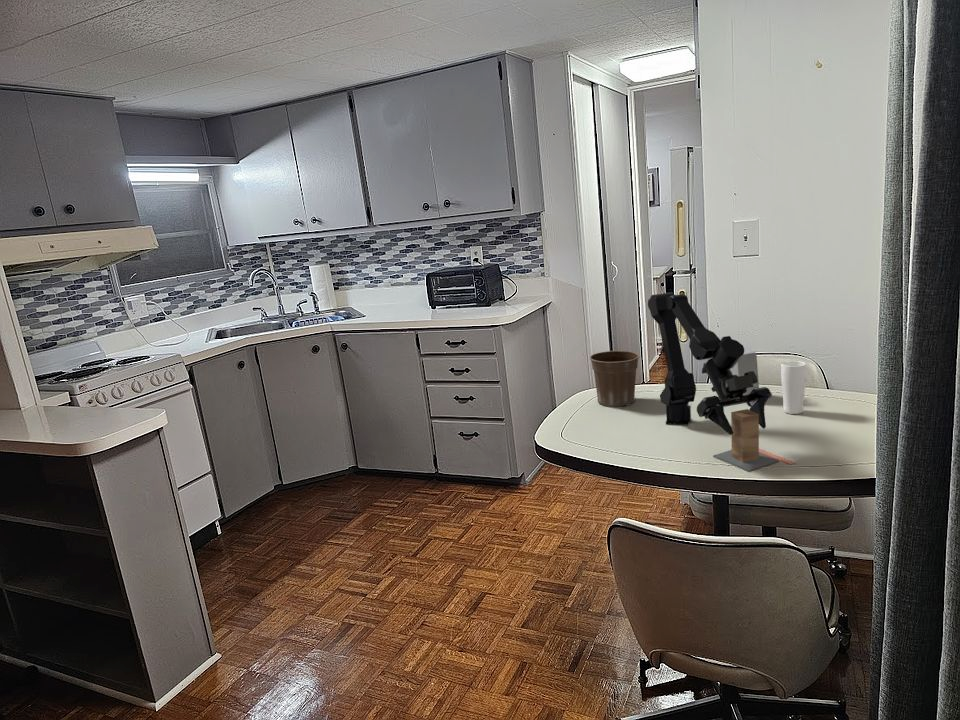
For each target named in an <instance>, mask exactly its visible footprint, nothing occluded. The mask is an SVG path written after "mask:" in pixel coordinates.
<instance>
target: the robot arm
mask: <svg viewBox="0 0 960 720" xmlns="http://www.w3.org/2000/svg"><path fill="white" fill-rule="evenodd" d="M647 308H648V310H649V312H650V315H651V318H652V319H654V321H655V322H656V323H657V324H658V326H659V328H658V329H659V333H660V338H661V343H662V347H663V353H664V359H665V362H666V367H667V373H666V376H665V378H664V382H663V383H664V388H663V390H662V392H660V395H659V398H660V402H661V403H662V404H664V405H665V411H666V420H665V424H666V425H681V426H688V425H689V424H690V422H691V419H692V408H691V407H692V406H691V405H690V403H691V402H692V403H693V402H694V401H695V398H696V394H697V393H696V392H697V386H696V382H695V378H694V376H695V375H694V374H693V373H692V372H689V371H688V370H687V369H686V368H685V363H684V357H683V352H682V348H681V342H680V337H679V333H678V327H677V323H676V320H677V321H678V322H679V324H680V326H681V327H682V329H683V330H684V332H685V334H686V335H687V337H688V339H689V343H688V344H689V345H688V347H689V349H690V352H691V355H692V356H693V357H694V359H695V360H696V361H705V360H707V361H706V362H704V363H703V366H702V369H701V374H706V375H707V376H708V378H709V381H710V383H711V385H712V387H711V389H710V390H711V391H712V392H713V393H714V392H715V393H716V395H711V396H706V397H703V398H702V399H701V401H700V402H699V403H698V405H697V406H696V413H697V414H698V417H700V418H703V417H704V419H705V420H707V419H708V420H710V421H711V422H713V423H714V424H716V425H717V426H718V427H720V428H721V429H722V430H723V431H725V432H726V433H727V434H728V435H730V436H732V434H733V430H732V428H731V423H730V421H729V419H728V418H727V416H726V414H725V409H724V408H726V407H730V406H736V405H741V404H742V405H743V404H746V405H747V406H748V407H750V408H749V409H748V410H750V411H753V412H755V413H757V414H759V426H760V427H761V428H762V430H763V429H765V428H766V427H767V424H766V415H765V413H766V412H765V405H766V404H767V402H768V401H769V399H770V398H771V397H772V395H773V394H772V392H771V390H770V389H769V388H768V387H766V386H763V387H759V388H756V389H753V390H752V391H751V392H750V394H749V395H744V396H743V393H746V391H747V389H746V388H749V387H754V386H753V384H755V383H757V382H758V381H759V378H758V379H757V376H756V374H755V373H754V371H750V372H747V373H744V376H739V377H738V376H737V375H733V374H732V372H731V370H730V369H731V368H733V367H734V366H735V364H736V363H737V362H738V361H739V359H740V358H741V357H742V355H743V354H744V349H745V348H744V345H743V344H742V343H740V342H739V341H737V340H736V339H733V338H732V337H731V336H730V335H726V336H722V337H721V338H720V337H719V336H717V334H716V333H715V332H714V331H712V330H710V329H707V328H706V327H705V325H704V323H702V321H701V320H700V318H699V316H698V315H697V313H696V312H695V310H694V308H693V307H692V305H691V304H690V303H689V299H688V295H686V294H683V293H682V294H675V293H674V292H672V291H671V292H663V293H656V294H652V295H651V296H650V297H649V299H648V301H647Z"/></svg>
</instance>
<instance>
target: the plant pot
mask: <svg viewBox="0 0 960 720" xmlns="http://www.w3.org/2000/svg"><path fill="white" fill-rule="evenodd" d="M639 359H640V354H638V353H636V352H635V351H629V350H608V351H607V350H606V351H601V352H596V353H593V354H591V355H590V356H589V360H591V367H592V368H591V369H592V370H593V374H594V381H595V389H596V397H597V403H598V404H600V405H602V406H605V407H609V408H611V407H613V408H616V407H617V408H618V407H624V406H626V405H627V406H630V405H632V404H633V403H634V402H635V393H636V377H637V368H638V365H639V364H638V362H639Z"/></svg>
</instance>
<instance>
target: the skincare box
mask: <svg viewBox="0 0 960 720" xmlns="http://www.w3.org/2000/svg"><path fill="white" fill-rule="evenodd" d="M757 356H758V355H757V352H756V351H753V350H752V349H750V348H748V347H747V348H744V354H743V355H742V357H741V358H740V359H739V361H738V362H737V363H736V364H735V366H734V367H733V368H731V369H730V370H731V372H732V374H733V375H737V376H738V377H739V376H744V373H747V372H750V371H754V373H755V374H756V376H757V379H758V382H757V383H755V384H753V386H754V387H749V388H746V389H747V391H746V393H743V396H744V395H749V394H750V392H751V391H752V390H753V389H756V388H760V385H759V384H760V383H759V369H758V357H757Z"/></svg>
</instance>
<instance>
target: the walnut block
mask: <svg viewBox="0 0 960 720" xmlns="http://www.w3.org/2000/svg"><path fill="white" fill-rule="evenodd" d="M730 414H731V415H730V418H731V421H730V422H731V423H730V426H731V428H732V430H733V434H732V435H731V450H732V457H734V458H735V459H737V460H739V461H741V462H748V461H753V460H758V459H759V449H760V441H759V439H760V436H759V434H760V431H759V430H760V428H759V426H760V425H759V414H757V413H755V412H753V411H750V410H749V409H748V408H746V409H740V410H735V411H731V412H730Z"/></svg>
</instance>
